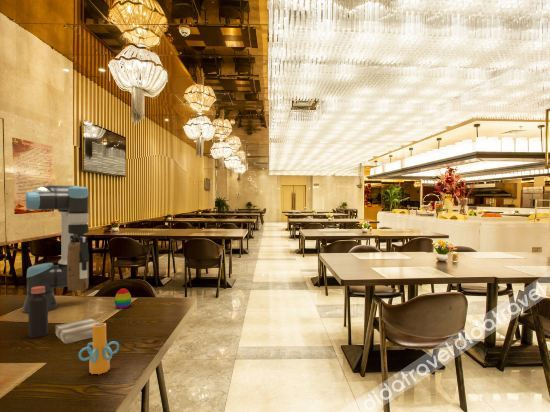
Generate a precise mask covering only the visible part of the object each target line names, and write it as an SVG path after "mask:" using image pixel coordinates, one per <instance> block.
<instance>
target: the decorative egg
mask: <svg viewBox="0 0 550 412" xmlns="http://www.w3.org/2000/svg"><path fill="white" fill-rule="evenodd" d="M131 303H132V295H131V293H130V292H129V290H128V289H127V288H124V287H123V288H120V289H119V290H118V291H117V292H116V294H115V297H114V305H115V307H116V308H117V309H122V310H123V309H127V308H129V307H130V305H131Z"/></svg>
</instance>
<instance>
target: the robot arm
mask: <svg viewBox="0 0 550 412" xmlns="http://www.w3.org/2000/svg"><path fill="white" fill-rule="evenodd" d="M89 195H90V194H89V189H88V187H86V186H78V185H44V186H39V187H36V188H34V189H33V190H32V191H27V192H26V193H25V208H26V209H27V210H30V211H31V210H33V211H37V210H38V211H40V210H41V211H42V210H44V211H45V210H46V211H49V210H55V211H56V210H57V211H58V213H59V214H61V223H60V224H61V229H60V230H61V231H60V233H61V234H60V235H61V238H60V239H61V240H60V242H61V243H60V244H61V247H60V248H61V250H60V251H61V254H60V255H61V258H60V259H59V260H58V262H57V265H54V262H45V263H39V264H36V265H32V266H29V267H28V268H27V270H26V297H25V300H24V303H23V306H22V313H26V314H29V310H28V301H29V299H30V298H31V297H32V295H31V288H32V287H37V286H45V293H44V295H45V296H46V297H47V298H48V312H50V311H53V310H56V309H58V301H57V298H56V296H55V293H54V288H55V289H56V288H64V287H68V286H67V285H68V284H67V255H68V245H69V243H70V242H80V248H81V252H80V251H79V257H80V261H79V263H80V279H83V278H87V262H88V261H90V254H89V243H88V236H85V234H88V233H89V230H90V229H89V228H90V227H89V224H88V223H89V219H90V215H89ZM83 242H84V243H83ZM87 243H88V244H87Z"/></svg>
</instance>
